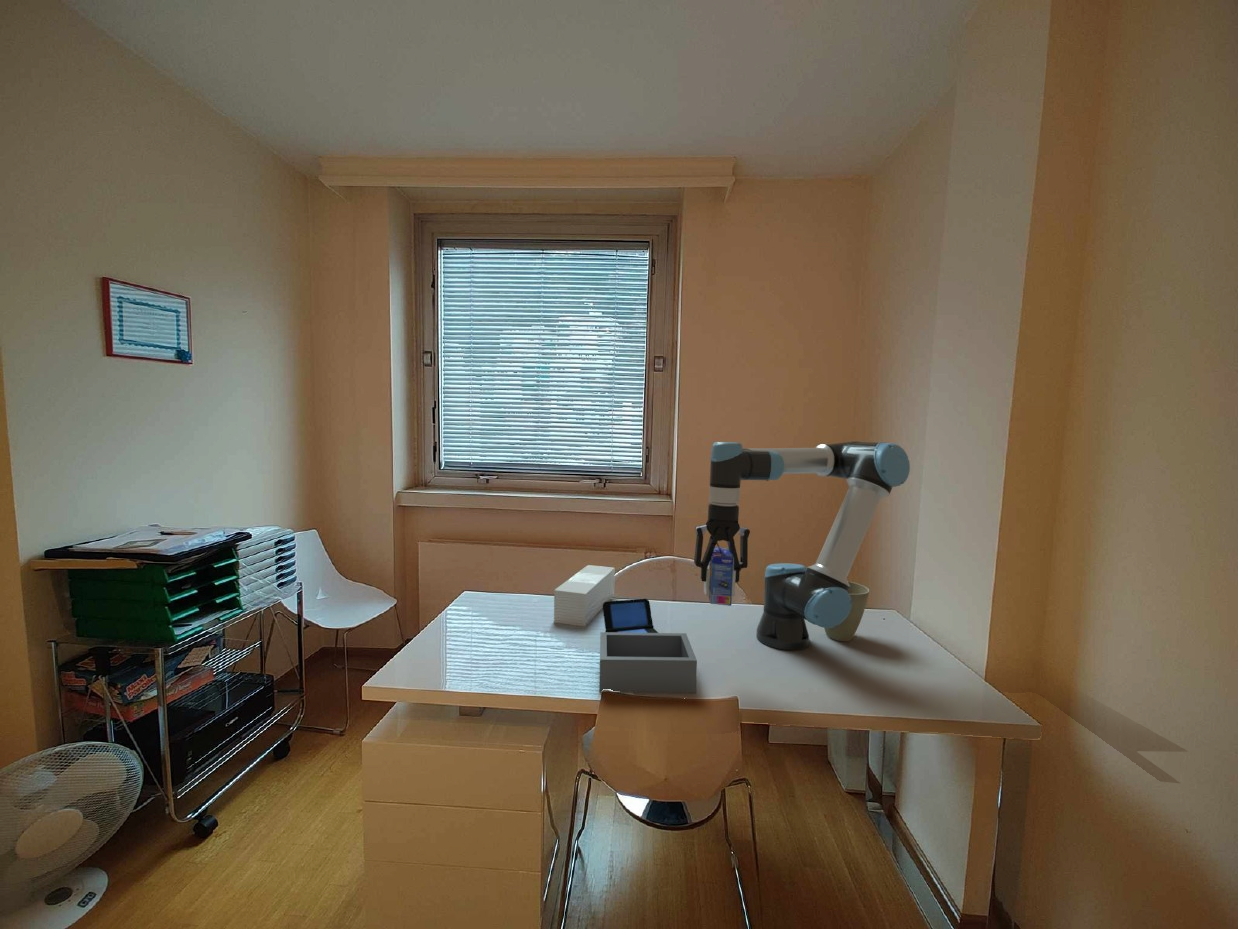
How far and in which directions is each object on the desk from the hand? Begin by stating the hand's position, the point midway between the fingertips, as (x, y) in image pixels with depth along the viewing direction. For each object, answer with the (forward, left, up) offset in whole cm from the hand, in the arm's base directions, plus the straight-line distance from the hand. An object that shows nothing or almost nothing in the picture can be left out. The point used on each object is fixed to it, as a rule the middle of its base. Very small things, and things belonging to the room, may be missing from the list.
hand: (719, 594), depth 129 cm
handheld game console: (+20, -24, -22) cm, 38 cm away
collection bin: (+18, +1, -21) cm, 28 cm away
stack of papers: (+35, -48, -22) cm, 63 cm away
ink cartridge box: (0, 0, -1) cm, 1 cm away
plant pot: (-44, -25, -21) cm, 55 cm away
